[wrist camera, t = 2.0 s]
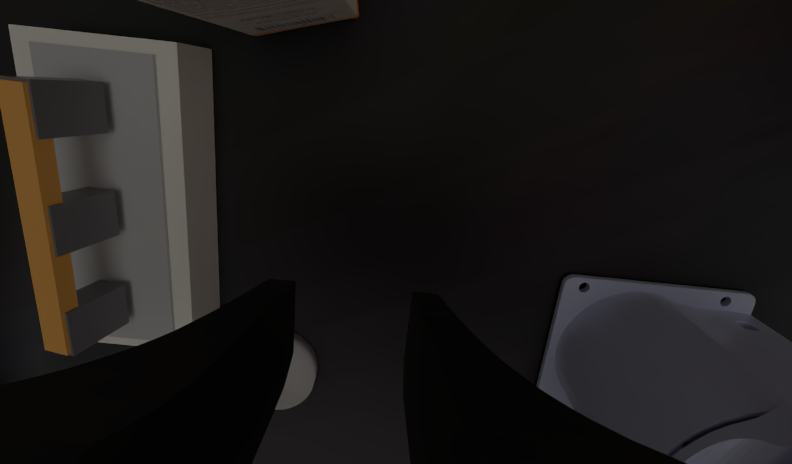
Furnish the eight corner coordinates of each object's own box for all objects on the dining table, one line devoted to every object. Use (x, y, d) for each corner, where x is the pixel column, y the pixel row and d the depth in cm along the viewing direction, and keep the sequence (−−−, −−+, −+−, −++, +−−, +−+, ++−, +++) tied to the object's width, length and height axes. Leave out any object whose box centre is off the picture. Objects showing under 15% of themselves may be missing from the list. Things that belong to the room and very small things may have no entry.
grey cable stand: (319, 332, 23) (249, 539, 12) (316, 400, 24) (250, 638, 14) (236, 324, 23) (94, 525, 12) (237, 393, 24) (111, 626, 14)
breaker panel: (211, 49, 18) (174, 41, 15) (220, 317, 23) (192, 353, 20) (69, 33, 18) (3, 23, 15) (104, 306, 22) (57, 341, 19)
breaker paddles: (102, 81, 15) (24, 78, 13) (129, 322, 19) (69, 358, 16) (74, 78, 16) (-9, 74, 13) (105, 316, 19) (43, 351, 16)
